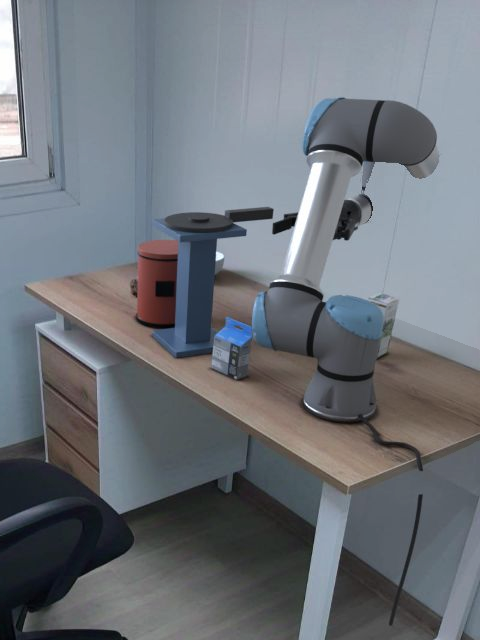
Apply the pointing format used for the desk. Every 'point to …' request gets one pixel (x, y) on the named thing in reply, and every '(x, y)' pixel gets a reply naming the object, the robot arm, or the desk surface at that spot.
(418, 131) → the robot arm
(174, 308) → the red banded canister
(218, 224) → the lid
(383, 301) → the syrup box
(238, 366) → the label tape box
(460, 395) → the desk surface
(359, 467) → the desk surface
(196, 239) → the stand
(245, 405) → the desk surface
